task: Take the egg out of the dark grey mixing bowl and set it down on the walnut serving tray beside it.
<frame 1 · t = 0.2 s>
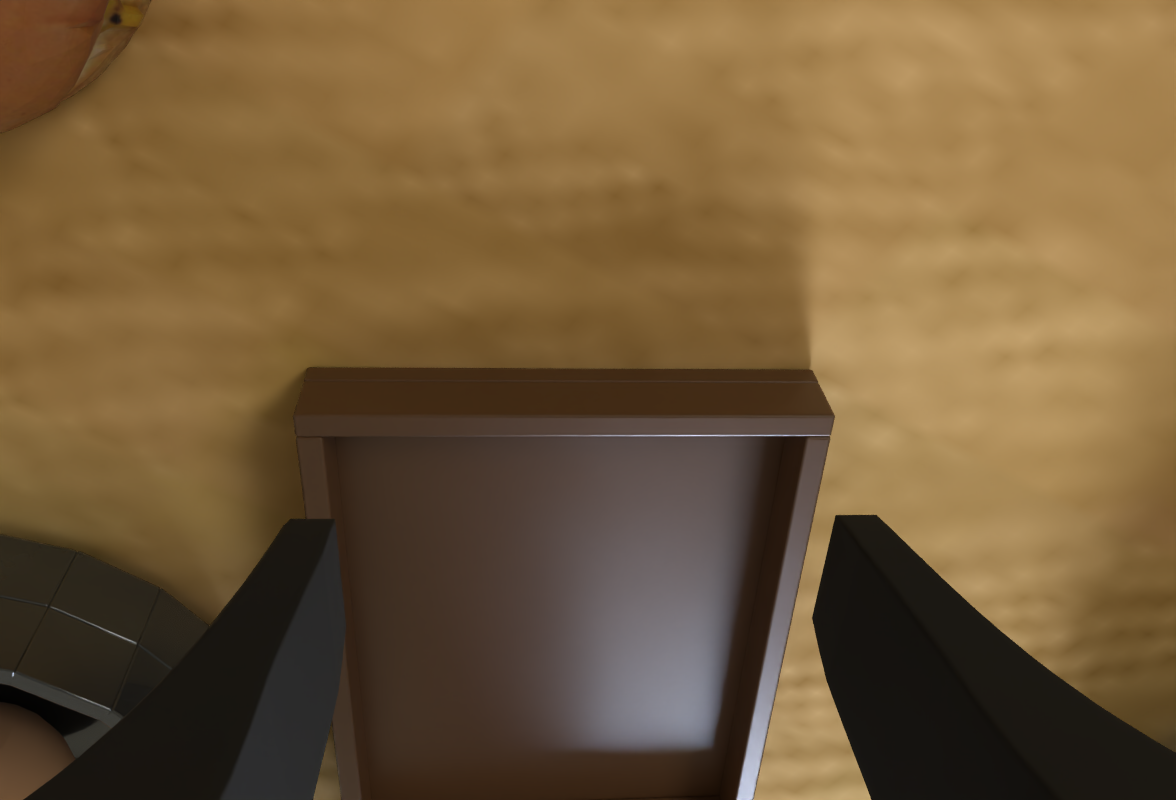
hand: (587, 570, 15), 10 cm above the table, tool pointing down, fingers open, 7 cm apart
dark grey mixing bowl: (14, 711, 29), on the table
egg: (11, 717, 29), resting on dark grey mixing bowl
tray: (554, 613, 29), on the table
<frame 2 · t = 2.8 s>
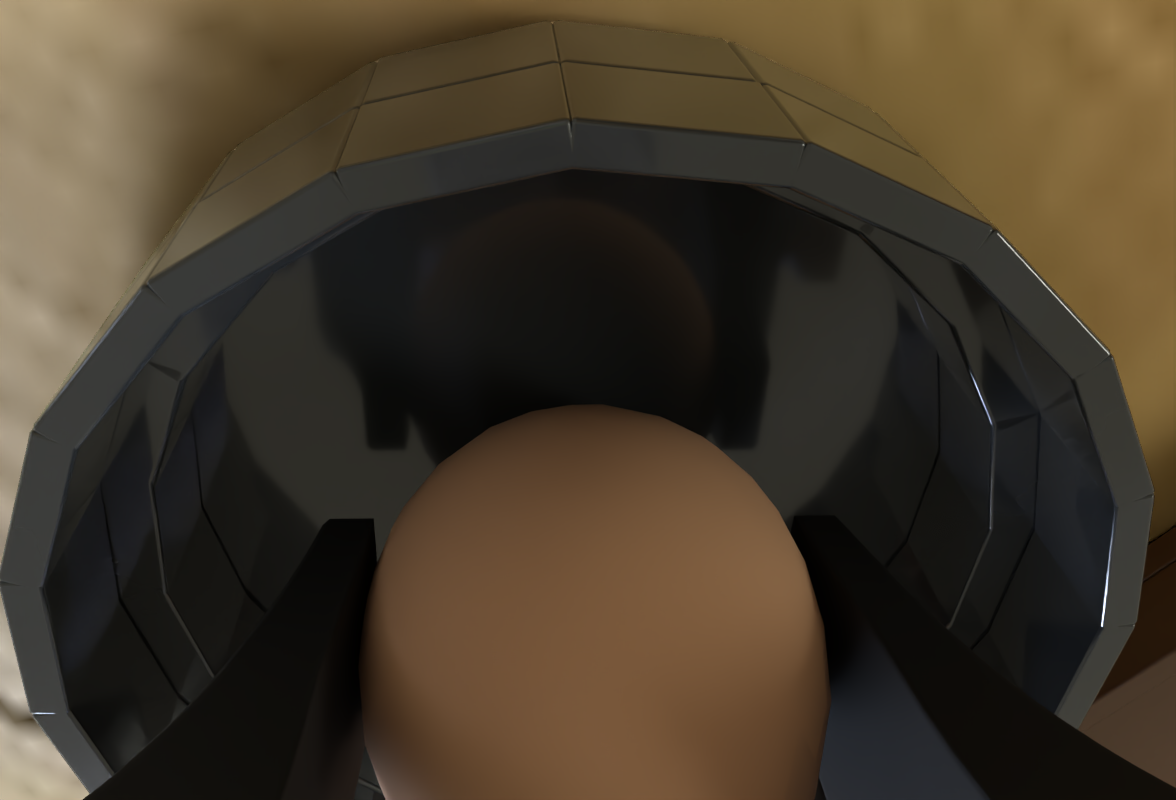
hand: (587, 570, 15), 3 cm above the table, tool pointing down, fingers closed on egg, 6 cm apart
dark grey mixing bowl: (574, 464, 17), on the table
egg: (573, 471, 17), resting on dark grey mixing bowl, touching gripper
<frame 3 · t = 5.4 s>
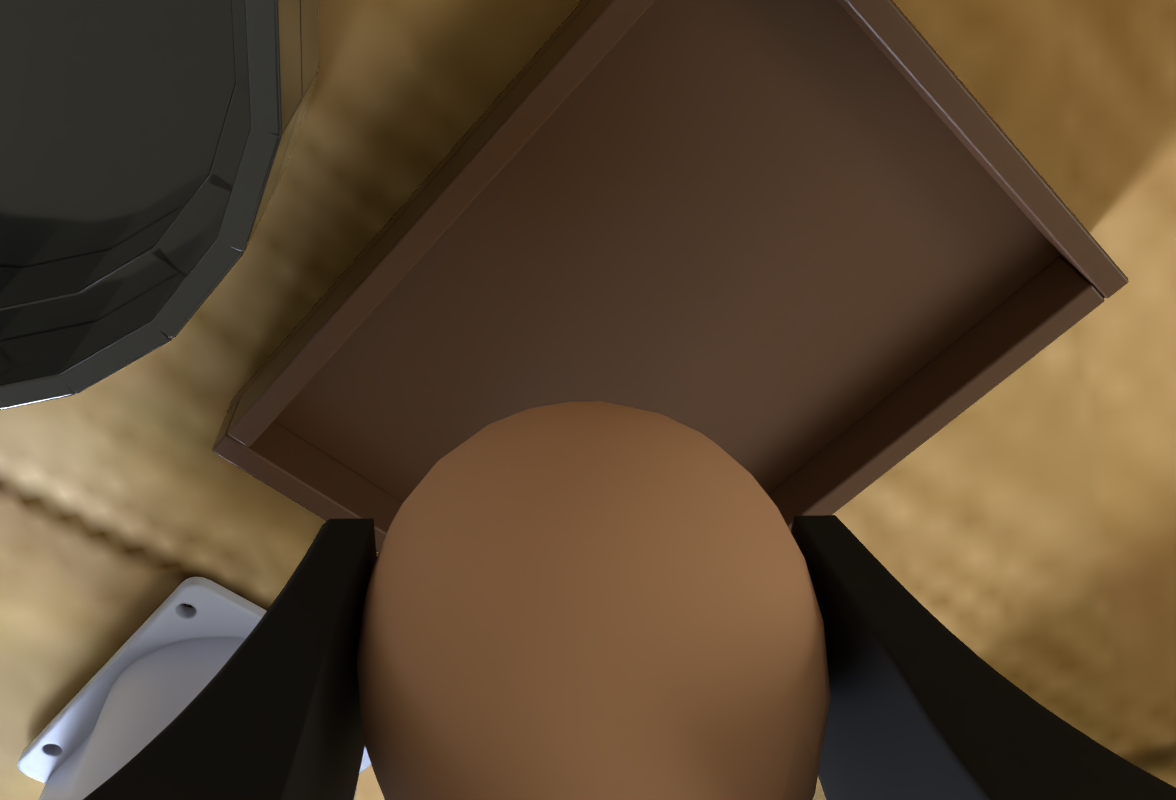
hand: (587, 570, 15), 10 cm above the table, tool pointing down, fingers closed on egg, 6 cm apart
egg: (573, 468, 17), point 7 cm above the table, touching gripper
tray: (652, 322, 24), on the table
when the fingers open (3 cm above the table, at t = 8.0 s): egg stays where it is, resting on tray.
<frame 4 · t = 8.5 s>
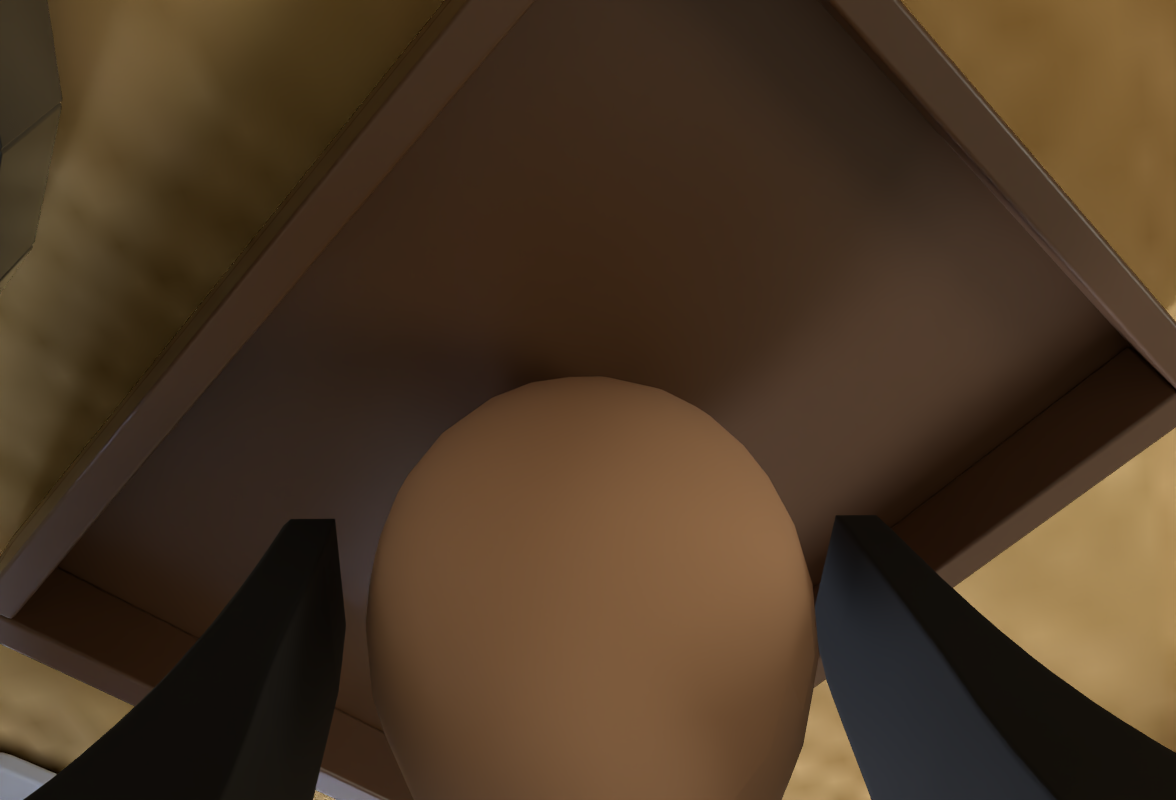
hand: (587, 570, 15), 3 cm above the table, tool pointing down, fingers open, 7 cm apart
egg: (572, 445, 17), resting on tray
tray: (573, 433, 18), on the table
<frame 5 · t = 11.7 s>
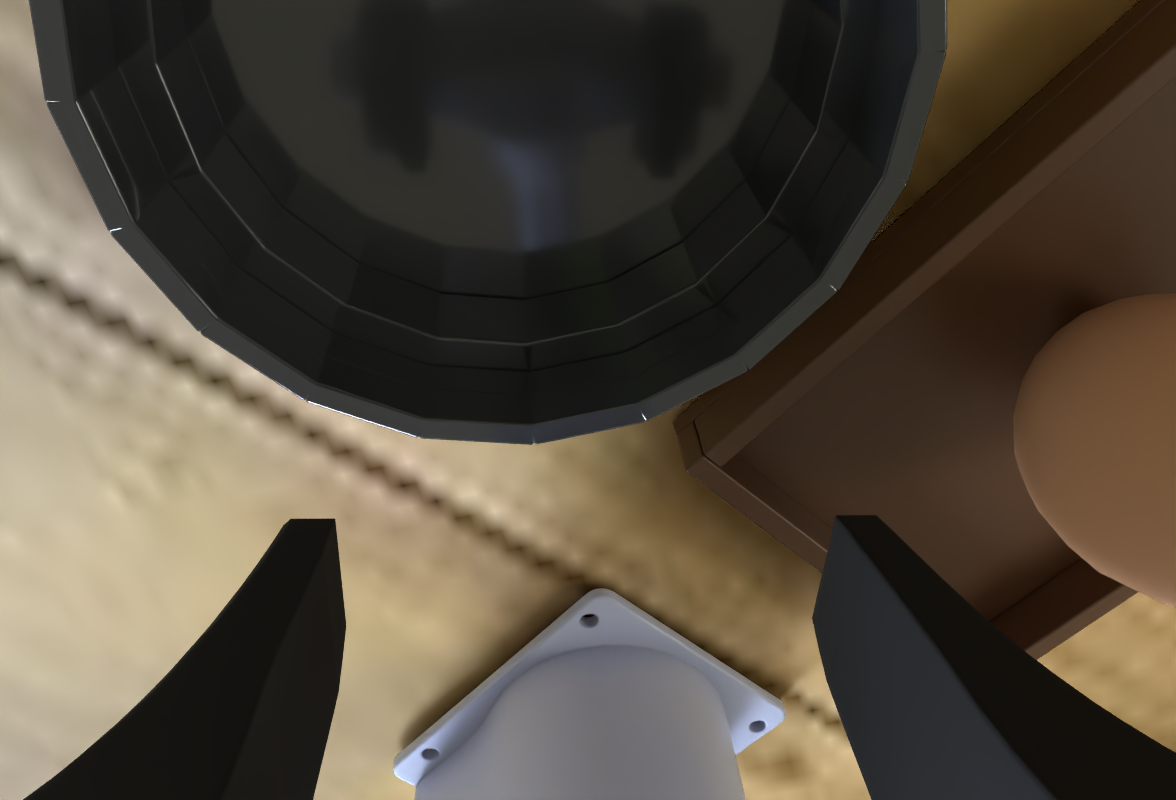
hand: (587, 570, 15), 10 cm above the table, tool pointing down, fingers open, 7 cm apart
dark grey mixing bowl: (503, 14, 20), on the table
egg: (1084, 351, 25), resting on tray
tray: (1077, 345, 25), on the table
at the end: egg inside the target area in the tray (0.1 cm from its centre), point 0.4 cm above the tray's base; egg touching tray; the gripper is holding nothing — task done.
